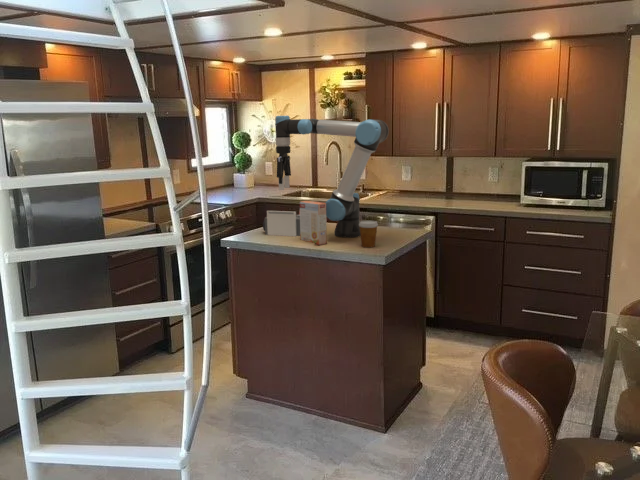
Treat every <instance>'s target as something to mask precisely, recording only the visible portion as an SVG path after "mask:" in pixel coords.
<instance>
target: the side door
mask: <svg viewBox="0 0 640 480" xmlns="http://www.w3.org/2000/svg"><path fill="white" fill-rule="evenodd" d="M296 216H297V211H288V210H287V211H285V210H282V211H281V210H266V217H267V232H268V235H267V236H280V237H282V236H284V237H298V236H297V232H296Z"/></svg>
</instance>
